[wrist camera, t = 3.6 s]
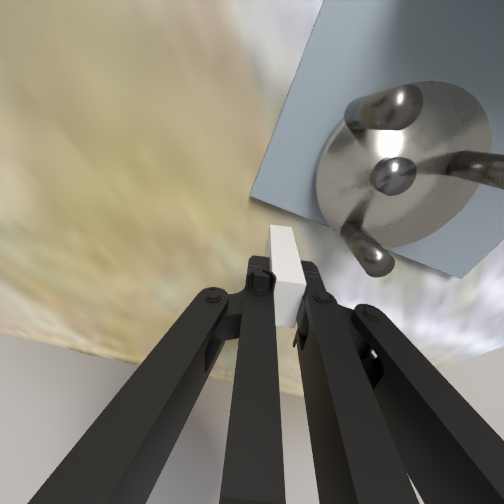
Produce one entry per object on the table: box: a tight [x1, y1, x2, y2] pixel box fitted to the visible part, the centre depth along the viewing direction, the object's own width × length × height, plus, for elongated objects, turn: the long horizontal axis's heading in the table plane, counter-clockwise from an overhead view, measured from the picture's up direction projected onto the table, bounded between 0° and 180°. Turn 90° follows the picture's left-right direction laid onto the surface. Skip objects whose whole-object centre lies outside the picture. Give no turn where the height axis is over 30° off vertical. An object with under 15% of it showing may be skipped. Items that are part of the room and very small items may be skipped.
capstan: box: [314, 81, 504, 277], centre depth 15 cm, size 12×12×8 cm
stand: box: [250, 0, 504, 279], centre depth 14 cm, size 24×20×11 cm
